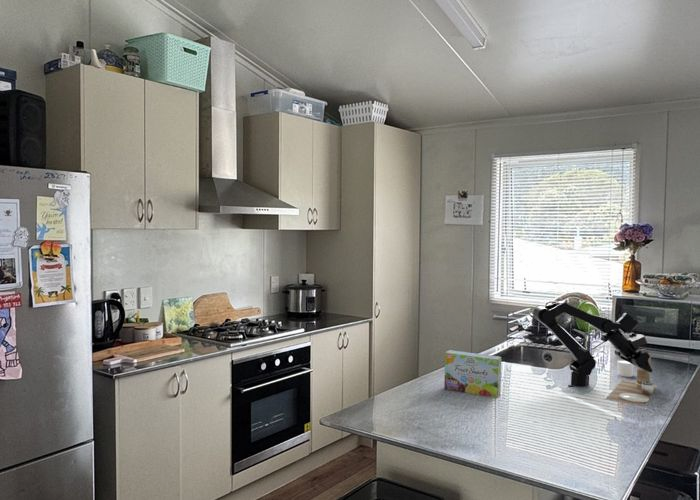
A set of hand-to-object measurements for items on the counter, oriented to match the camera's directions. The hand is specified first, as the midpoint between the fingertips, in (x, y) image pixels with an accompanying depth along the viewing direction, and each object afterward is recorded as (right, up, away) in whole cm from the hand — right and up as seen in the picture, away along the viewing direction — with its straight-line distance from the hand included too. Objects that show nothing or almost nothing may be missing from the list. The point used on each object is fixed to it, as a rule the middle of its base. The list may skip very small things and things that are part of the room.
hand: (645, 368), depth 235 cm
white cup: (0, -8, +18) cm, 20 cm away
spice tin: (-5, -7, -10) cm, 14 cm away
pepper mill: (-1, -7, 0) cm, 7 cm away
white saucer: (-13, -7, -18) cm, 24 cm away
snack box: (-73, -7, -10) cm, 74 cm away
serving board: (-10, -8, -9) cm, 16 cm away
